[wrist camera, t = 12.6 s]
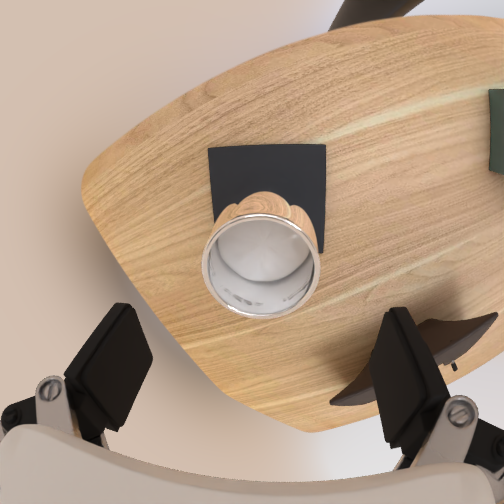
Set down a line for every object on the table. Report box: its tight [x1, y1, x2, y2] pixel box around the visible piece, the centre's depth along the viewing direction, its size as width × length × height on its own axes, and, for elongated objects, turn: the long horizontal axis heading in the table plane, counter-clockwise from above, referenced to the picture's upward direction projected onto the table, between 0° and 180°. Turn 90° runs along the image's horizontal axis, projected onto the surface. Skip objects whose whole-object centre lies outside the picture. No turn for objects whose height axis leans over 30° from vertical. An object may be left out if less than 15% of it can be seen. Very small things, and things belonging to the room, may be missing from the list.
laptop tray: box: [330, 312, 498, 406], centre depth 33 cm, size 23×23×9 cm
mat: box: [208, 144, 326, 253], centre depth 29 cm, size 12×12×1 cm
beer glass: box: [201, 173, 321, 319], centre depth 22 cm, size 7×7×15 cm
